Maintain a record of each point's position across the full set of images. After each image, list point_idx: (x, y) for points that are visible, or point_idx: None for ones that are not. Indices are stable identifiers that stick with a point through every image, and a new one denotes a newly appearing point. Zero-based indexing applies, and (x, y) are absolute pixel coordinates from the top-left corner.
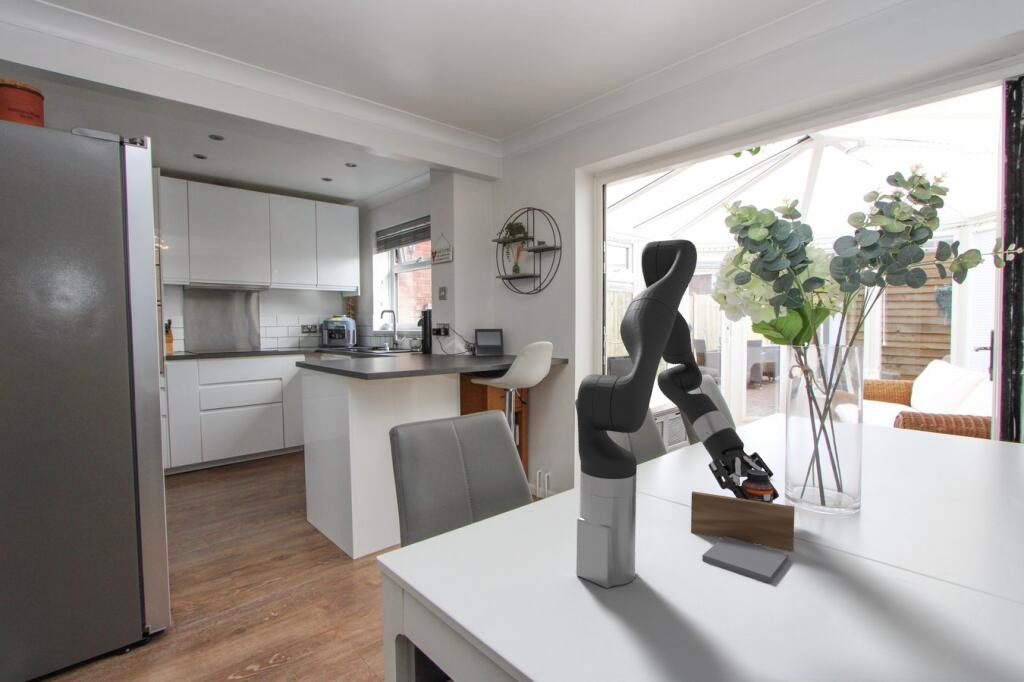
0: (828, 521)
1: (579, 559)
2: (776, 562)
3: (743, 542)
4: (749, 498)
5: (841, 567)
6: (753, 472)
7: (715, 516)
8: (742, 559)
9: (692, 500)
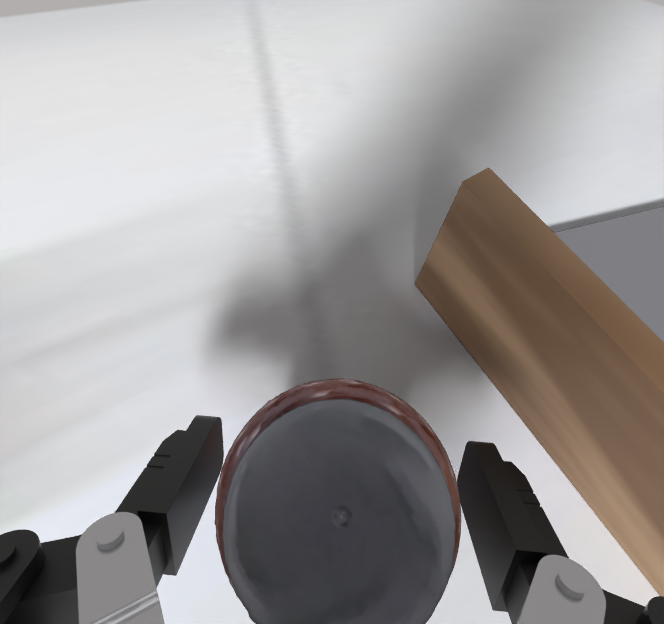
0: (34, 337)
1: None
2: (598, 233)
3: None
4: (485, 454)
5: (403, 167)
6: (404, 531)
7: None
8: None
9: None
